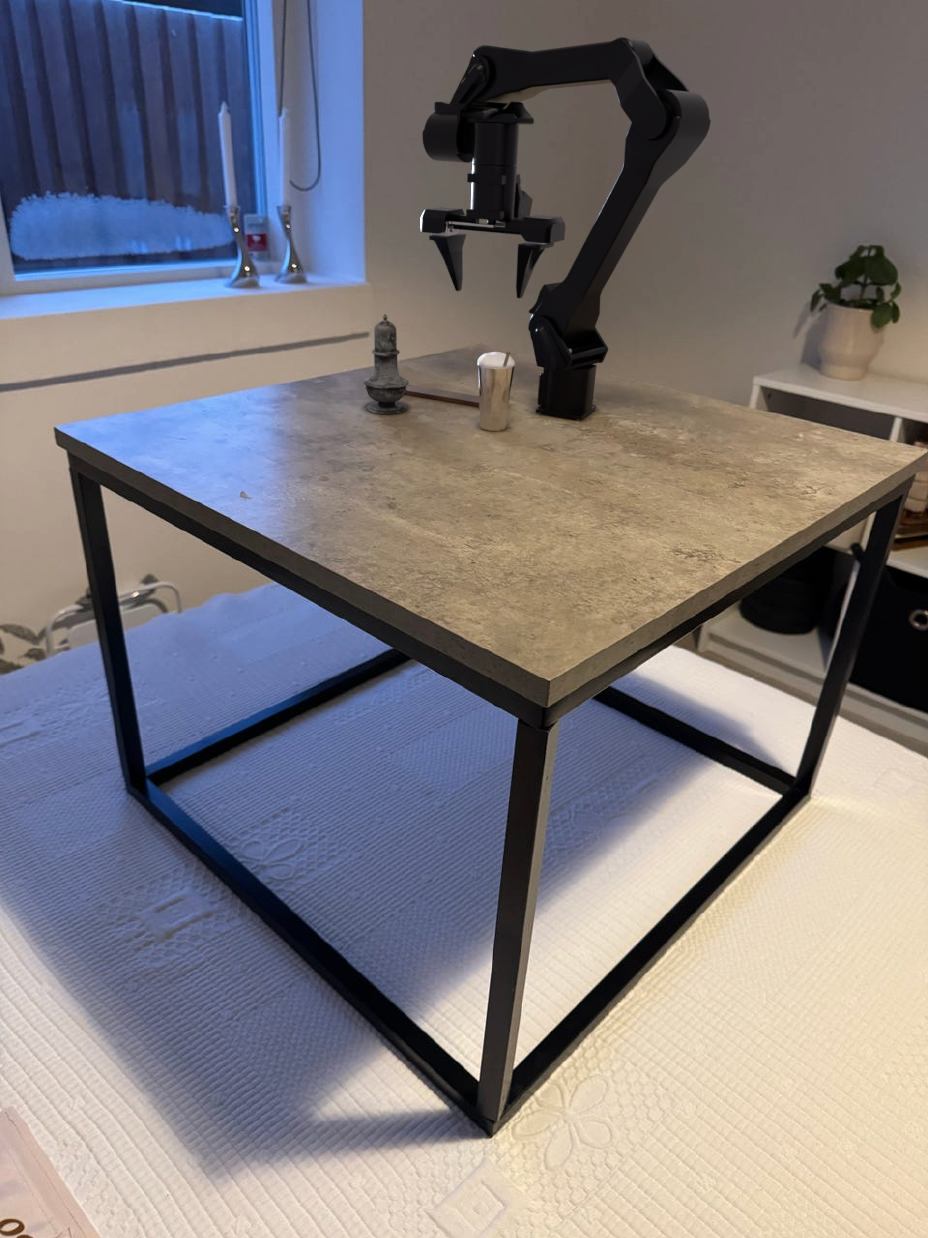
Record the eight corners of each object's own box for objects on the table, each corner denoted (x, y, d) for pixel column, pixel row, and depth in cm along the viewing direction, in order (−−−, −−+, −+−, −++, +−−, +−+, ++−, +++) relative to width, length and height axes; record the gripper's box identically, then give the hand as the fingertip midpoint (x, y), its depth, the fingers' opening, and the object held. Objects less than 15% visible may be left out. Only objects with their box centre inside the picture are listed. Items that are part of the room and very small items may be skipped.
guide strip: (507, 404, 117) (507, 400, 117) (497, 410, 114) (498, 405, 114) (381, 383, 124) (381, 379, 124) (370, 388, 122) (370, 384, 122)
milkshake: (487, 436, 105) (491, 352, 100) (469, 423, 109) (472, 342, 104) (520, 432, 106) (525, 349, 101) (501, 420, 110) (505, 340, 105)
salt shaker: (376, 417, 110) (374, 319, 104) (356, 405, 114) (353, 311, 108) (416, 411, 113) (416, 316, 107) (396, 400, 117) (395, 308, 111)
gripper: (585, 167, 112) (573, 293, 120) (457, 160, 119) (454, 279, 127) (554, 169, 103) (543, 305, 111) (418, 161, 110) (417, 289, 118)
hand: (488, 294), depth 117 cm, fingers open, 9 cm apart
